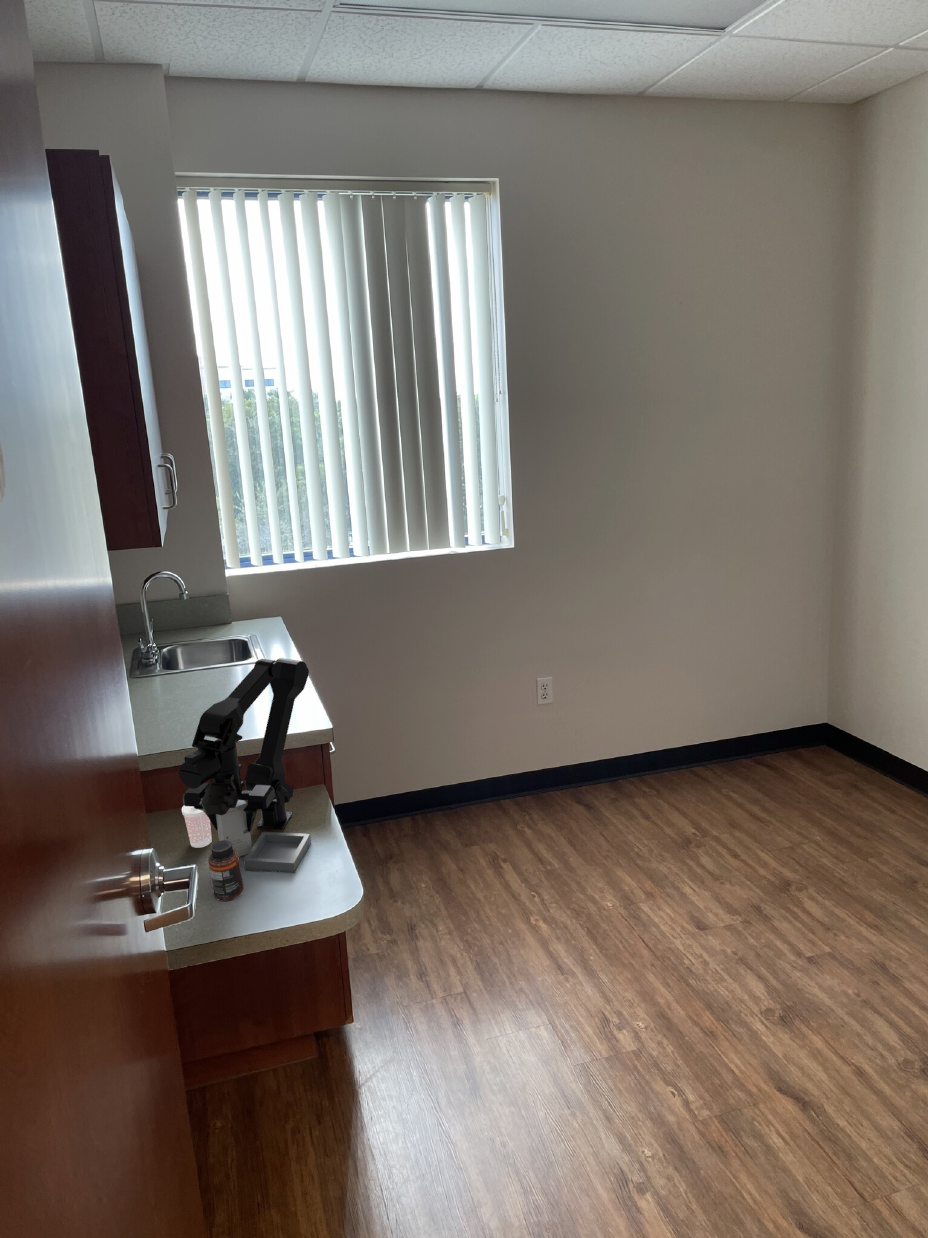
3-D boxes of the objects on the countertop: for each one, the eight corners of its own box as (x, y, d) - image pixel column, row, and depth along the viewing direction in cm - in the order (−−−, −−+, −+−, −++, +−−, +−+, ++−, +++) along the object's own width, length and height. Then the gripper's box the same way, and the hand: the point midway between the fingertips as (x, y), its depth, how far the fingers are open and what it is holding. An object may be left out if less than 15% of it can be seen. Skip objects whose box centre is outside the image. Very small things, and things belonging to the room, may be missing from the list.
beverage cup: (210, 831, 196) (202, 777, 191) (218, 843, 191) (210, 788, 186) (183, 840, 192) (174, 785, 188) (191, 853, 188) (182, 796, 183)
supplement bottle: (232, 880, 177) (225, 833, 174) (249, 891, 174) (243, 843, 170) (207, 895, 173) (200, 847, 169) (225, 906, 169) (218, 857, 166)
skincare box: (226, 861, 184) (219, 812, 180) (219, 852, 187) (212, 803, 183) (254, 851, 187) (247, 803, 183) (246, 842, 190) (240, 794, 187)
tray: (263, 841, 191) (262, 831, 190) (311, 843, 189) (310, 834, 188) (245, 870, 180) (243, 860, 180) (295, 873, 179) (293, 863, 178)
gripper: (165, 783, 174) (176, 849, 179) (252, 786, 172) (261, 853, 176) (189, 757, 185) (199, 820, 190) (272, 760, 182) (279, 824, 187)
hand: (233, 830), depth 185 cm, fingers closed on skincare box, 7 cm apart
